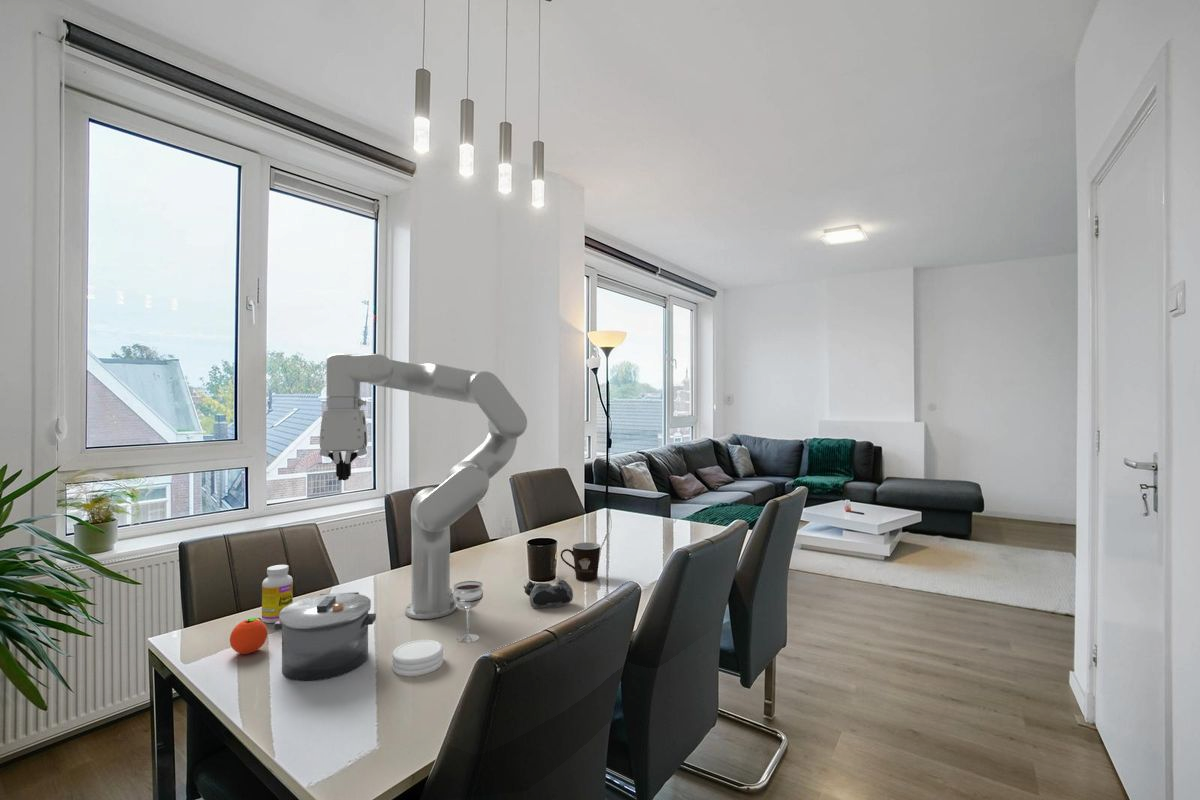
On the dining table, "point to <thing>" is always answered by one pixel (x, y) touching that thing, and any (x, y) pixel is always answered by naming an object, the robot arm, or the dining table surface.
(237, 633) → the clementine
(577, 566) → the coffee mug
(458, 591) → the wineglass
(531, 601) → the bison figurine
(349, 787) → the dining table surface
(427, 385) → the robot arm
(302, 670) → the pot
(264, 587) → the supplement bottle
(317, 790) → the dining table surface
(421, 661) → the white round stack
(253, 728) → the dining table surface
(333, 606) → the lid
